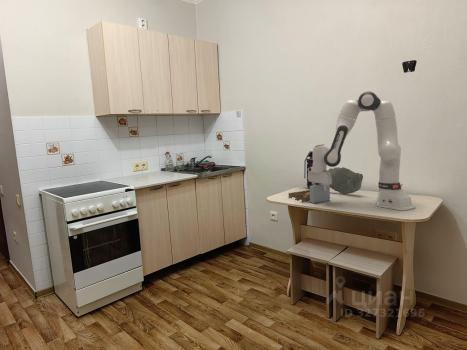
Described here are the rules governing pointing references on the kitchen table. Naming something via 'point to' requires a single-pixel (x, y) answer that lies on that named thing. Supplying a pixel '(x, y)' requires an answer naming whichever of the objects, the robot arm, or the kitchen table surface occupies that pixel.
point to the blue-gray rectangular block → (319, 193)
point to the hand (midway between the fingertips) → (319, 189)
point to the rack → (300, 195)
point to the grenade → (310, 164)
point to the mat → (321, 202)
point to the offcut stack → (306, 195)
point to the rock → (345, 180)
